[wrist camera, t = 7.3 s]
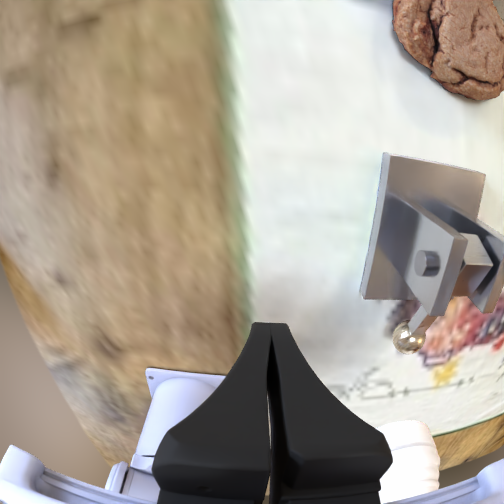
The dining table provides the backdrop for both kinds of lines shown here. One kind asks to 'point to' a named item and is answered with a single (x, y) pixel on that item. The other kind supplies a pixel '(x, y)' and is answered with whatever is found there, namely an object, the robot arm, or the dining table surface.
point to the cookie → (455, 43)
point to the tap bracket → (428, 235)
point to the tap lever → (470, 276)
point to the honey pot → (409, 461)
